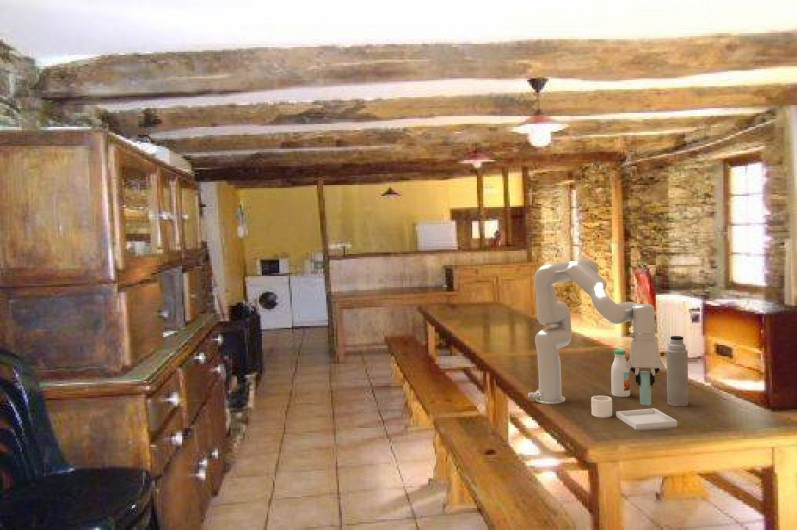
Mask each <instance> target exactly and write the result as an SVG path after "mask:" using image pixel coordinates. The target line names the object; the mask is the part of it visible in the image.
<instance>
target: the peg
mask: <svg viewBox="0 0 797 530" xmlns="http://www.w3.org/2000/svg"><path fill="white" fill-rule="evenodd" d="M639 375H640V385H639V404H640V405H642V406H650V405H652V386H651V371H647V370H645V371H639Z"/></svg>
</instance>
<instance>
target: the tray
mask: <svg viewBox="0 0 797 530" xmlns="http://www.w3.org/2000/svg"><path fill="white" fill-rule="evenodd" d="M615 417H616V418H618V419H620V420H621V421H623V422H624V423H625V424H627V425H628V426H630V427H631V428H632V429H633V430H636V431H635V432H638V431H637V430H642V431H650V430H651V431H653V429H654V430H662V429H673V428H678V421H677V420H676V419H675V418H673V417H671V416H669V415H667V414H665V412H662V411H660V410H659V409H657V408H643V409H632V410H630V409H629V410H622V411H621V410H619V411H615Z"/></svg>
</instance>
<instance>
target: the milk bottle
mask: <svg viewBox="0 0 797 530" xmlns="http://www.w3.org/2000/svg"><path fill="white" fill-rule="evenodd" d="M613 351H614V360H613V362H612V364H611V368H610V369H611V371H610V379H611V380H610V381H611V385H610V386H611V387H610V388H611V396H613V397H616V398H626V397H627V398H628V397H630V396H631V374H630V373H631V370H630V369H628V368H627V367H626V366H625V365H626V363H627V362H628V360H627V359H626V353H627V352H626V350H625V349H621V348H618V349H614V350H613Z"/></svg>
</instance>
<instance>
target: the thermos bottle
mask: <svg viewBox="0 0 797 530" xmlns="http://www.w3.org/2000/svg"><path fill="white" fill-rule="evenodd" d="M688 359H689V356H688V350H687V346H686V344H685V343H684V336H681V335H673V336H670V343H669V344H668V345H667V349H666V393H667V394H666V395H667V397H666V398H667V402H666V403H667V404H668V405H670V406H673V407H686V406H689V361H688Z"/></svg>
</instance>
